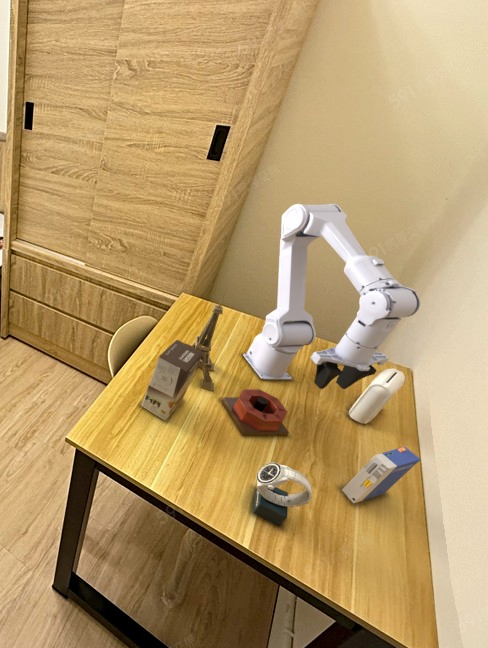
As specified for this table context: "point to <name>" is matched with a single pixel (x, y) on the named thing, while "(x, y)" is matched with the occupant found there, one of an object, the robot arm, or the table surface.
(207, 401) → the table surface
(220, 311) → the eiffel tower
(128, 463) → the table surface
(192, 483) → the table surface
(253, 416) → the ring
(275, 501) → the watch
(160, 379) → the coffee box
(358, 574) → the table surface
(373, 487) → the walkman
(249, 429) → the post
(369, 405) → the white wireless mouse
